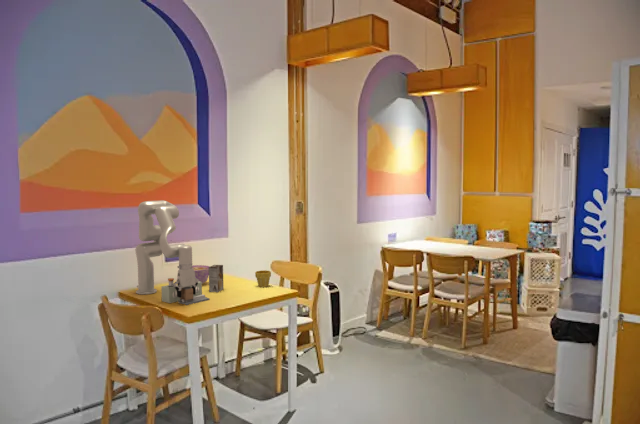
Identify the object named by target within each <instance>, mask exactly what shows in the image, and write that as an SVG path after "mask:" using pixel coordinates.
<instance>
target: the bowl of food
mask: <svg viewBox="0 0 640 424" xmlns="http://www.w3.org/2000/svg"><path fill="white" fill-rule="evenodd" d="M209 267H210V266H209V265H204V264H203V265H202V264H196V265H195V264H194V265H193V264H192V268H194V272H195V278H197V279H199V281H200V282H202V285H203V284H204V283H206V282H207V281H208V280H209Z"/></svg>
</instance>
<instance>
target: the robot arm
mask: <svg viewBox="0 0 640 424" xmlns="http://www.w3.org/2000/svg"><path fill="white" fill-rule="evenodd" d="M137 213H138V239H139V240H140V241H141V243H139V244H138V245H136V246H135V256H136V262H137V283H138V285H137V286H136V288H137V290H135V293H136V294H137V295H152V294H156V293H157V291H158V290H157V289H156V288H155V277H154V276H155V275H154V274H155V270H154V269H155V268H154V263H153V261H152V260H151V258H155V257H161V256H162V255H163V256H164V257H166V258H167V259H173V258H178V265H177V269H178V271H177V277H176V278H177V279H176V281H174V282H173V286H174V288H175V289H176V290H177V297H180V298H181V291H180V290H181V288H182V287H188V286H192V287H191V288H193V294H194V295H195V292H196V286H197V284H198V282H199V279H197V278H195V272H194V268H192V265H193V247H192V246H191V245H189V244H188V245H187V244H184V243H175V244H169V242H168V236H169V235H170V234H172V233H173V232H174V231H176V229H177V226H176V223H175V221H174V220H176V219H178V218H179V216H180V211H179V209H178V207H177V206H176V205H175V204H173V203H171V202H169V201H167V200H163V199H160V200H147V201H142V202H140V203H139V204H138V208H137ZM152 215H154V216H155V217H156V221H157V222H158V224H159V225H157V224H155V225H154V222H155V221H154V217H153V216H152ZM150 241H151V242H150ZM176 285H178V287H177V286H176Z"/></svg>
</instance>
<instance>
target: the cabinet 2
mask: <svg viewBox="0 0 640 424" xmlns="http://www.w3.org/2000/svg"><path fill="white" fill-rule="evenodd" d="M188 287H192V286H188ZM202 287H203V284H202V282H200V281H199V282H198V284H197V286H196V292H195V295H194V294H193V297H194V296H199V295H203V288H202Z"/></svg>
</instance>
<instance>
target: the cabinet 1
mask: <svg viewBox="0 0 640 424" xmlns="http://www.w3.org/2000/svg"><path fill="white" fill-rule="evenodd" d="M176 286H177V287H178V285H176ZM160 287H161V301H162V302H164V303H166V304H167V303H168V304H173V303H178V301H180V297H177V290H176V289H175V288H174V287H169V284H167V285H163V286H160Z"/></svg>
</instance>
